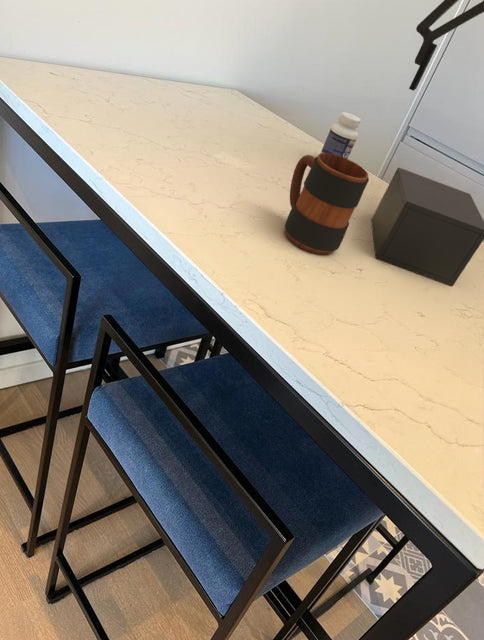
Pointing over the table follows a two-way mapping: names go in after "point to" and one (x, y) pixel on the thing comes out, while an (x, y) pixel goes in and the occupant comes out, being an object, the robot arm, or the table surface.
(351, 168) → the mug
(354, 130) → the pill bottle
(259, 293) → the table surface
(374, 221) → the charcoal bevelled cube
